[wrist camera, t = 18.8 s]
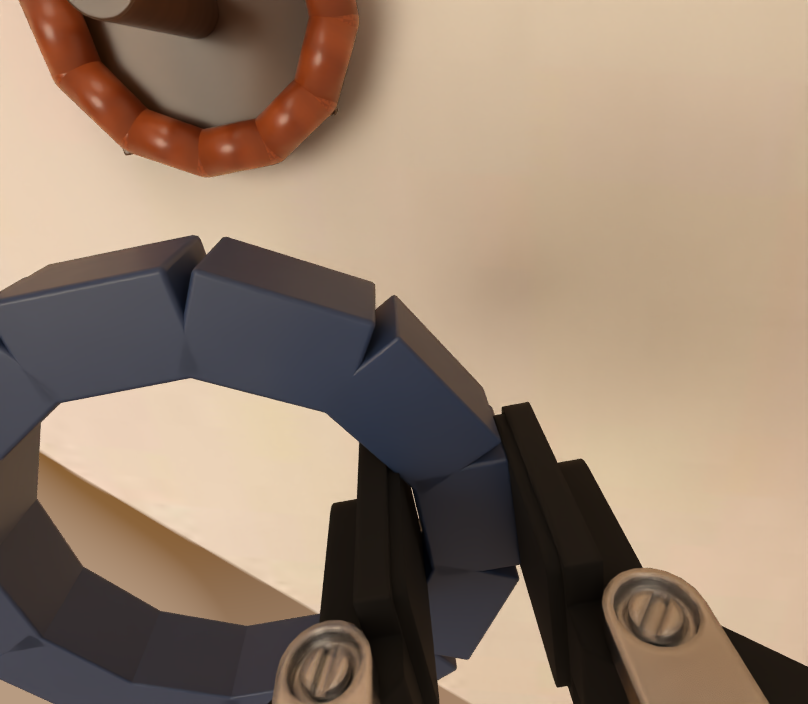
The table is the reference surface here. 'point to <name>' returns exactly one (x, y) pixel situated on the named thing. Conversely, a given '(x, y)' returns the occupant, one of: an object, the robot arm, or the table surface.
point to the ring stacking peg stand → (200, 53)
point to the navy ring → (253, 373)
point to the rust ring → (185, 143)
